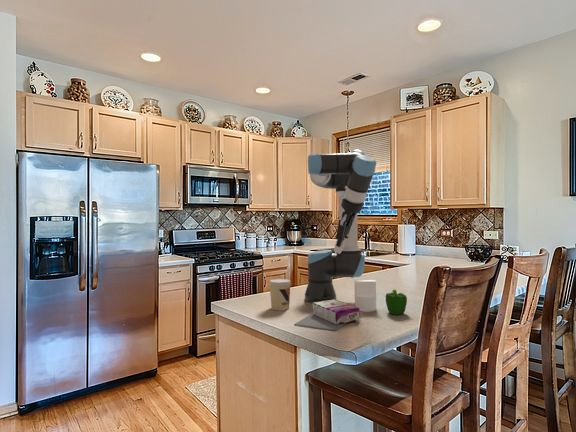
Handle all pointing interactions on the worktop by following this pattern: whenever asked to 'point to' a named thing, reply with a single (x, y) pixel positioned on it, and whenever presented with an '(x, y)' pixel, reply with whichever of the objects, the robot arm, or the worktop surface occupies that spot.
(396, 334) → the worktop surface
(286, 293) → the coffee cup
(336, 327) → the rubber mat
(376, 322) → the worktop surface
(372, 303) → the base with upright slab
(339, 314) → the candy bar box
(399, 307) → the bell pepper
